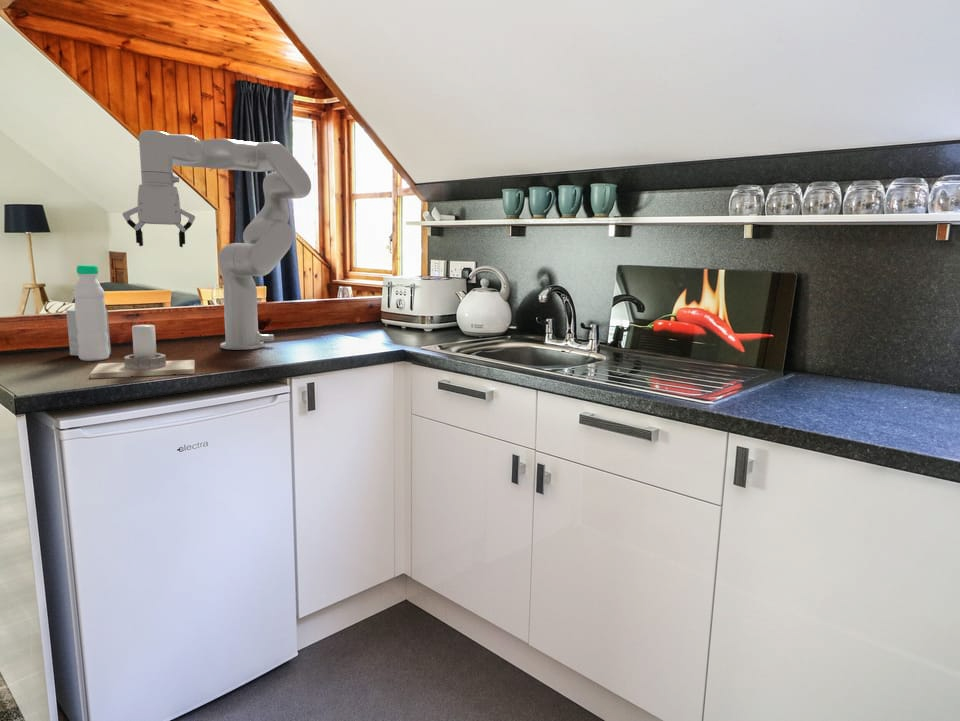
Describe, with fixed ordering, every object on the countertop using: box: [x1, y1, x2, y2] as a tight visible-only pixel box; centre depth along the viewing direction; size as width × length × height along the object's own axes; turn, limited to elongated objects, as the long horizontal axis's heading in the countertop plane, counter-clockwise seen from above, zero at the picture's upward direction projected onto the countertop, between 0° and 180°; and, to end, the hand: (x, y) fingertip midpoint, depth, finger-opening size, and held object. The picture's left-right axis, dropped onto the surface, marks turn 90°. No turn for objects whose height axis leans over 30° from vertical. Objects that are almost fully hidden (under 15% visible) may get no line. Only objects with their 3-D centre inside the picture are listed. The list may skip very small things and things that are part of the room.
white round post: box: [131, 324, 157, 359], centre depth 158 cm, size 5×5×10 cm
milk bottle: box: [73, 264, 110, 362], centre depth 171 cm, size 7×7×25 cm
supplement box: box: [65, 308, 112, 357], centre depth 178 cm, size 7×7×13 cm
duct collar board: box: [89, 352, 196, 379], centre depth 159 cm, size 22×13×4 cm, turn 113°
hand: (161, 246), depth 172 cm, fingers open, 9 cm apart
